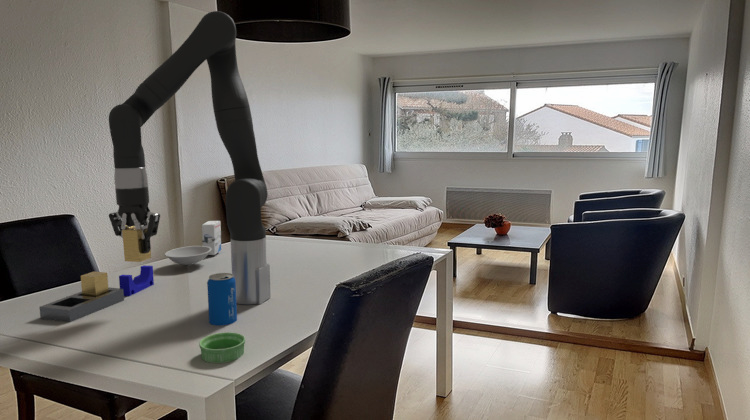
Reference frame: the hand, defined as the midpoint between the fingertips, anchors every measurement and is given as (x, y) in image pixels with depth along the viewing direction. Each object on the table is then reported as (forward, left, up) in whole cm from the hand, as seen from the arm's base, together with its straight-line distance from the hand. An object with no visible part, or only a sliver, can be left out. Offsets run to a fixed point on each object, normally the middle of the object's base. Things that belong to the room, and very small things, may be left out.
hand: (137, 252), depth 135 cm
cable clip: (+14, -15, -16) cm, 26 cm away
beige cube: (+14, 0, -15) cm, 21 cm away
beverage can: (-26, +3, -16) cm, 30 cm away
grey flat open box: (+14, +4, -15) cm, 21 cm away
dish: (+16, -44, -16) cm, 50 cm away
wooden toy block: (0, 0, -2) cm, 2 cm away
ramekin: (-37, +21, -16) cm, 45 cm away
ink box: (+19, -63, -16) cm, 68 cm away
